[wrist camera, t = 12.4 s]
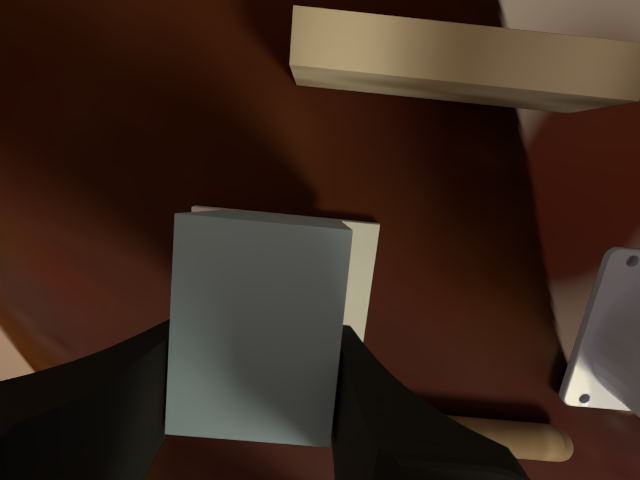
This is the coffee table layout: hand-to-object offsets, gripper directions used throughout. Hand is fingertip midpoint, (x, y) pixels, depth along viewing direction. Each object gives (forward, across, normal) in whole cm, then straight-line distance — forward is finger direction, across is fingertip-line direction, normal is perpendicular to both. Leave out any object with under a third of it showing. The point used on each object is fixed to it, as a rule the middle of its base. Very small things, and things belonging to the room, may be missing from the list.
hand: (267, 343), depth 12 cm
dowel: (+4, -9, +6) cm, 11 cm away
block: (+2, 0, -1) cm, 3 cm away
